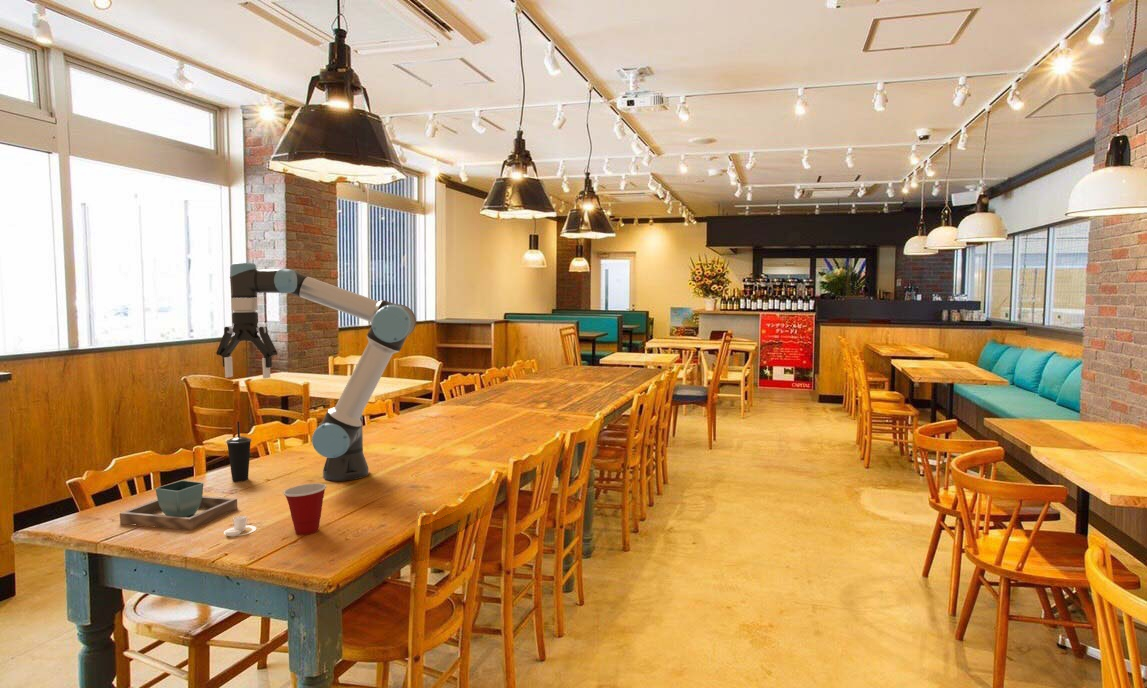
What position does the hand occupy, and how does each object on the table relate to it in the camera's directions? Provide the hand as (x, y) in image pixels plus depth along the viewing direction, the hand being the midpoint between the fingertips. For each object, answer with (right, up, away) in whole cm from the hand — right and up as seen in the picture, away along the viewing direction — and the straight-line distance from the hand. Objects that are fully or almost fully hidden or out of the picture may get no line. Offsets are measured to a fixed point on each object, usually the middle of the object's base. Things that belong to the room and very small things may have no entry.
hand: (247, 377), depth 217 cm
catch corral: (-7, -38, -25) cm, 46 cm away
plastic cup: (+33, -40, -36) cm, 63 cm away
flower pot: (-7, -39, -24) cm, 46 cm away
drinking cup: (-9, -36, +12) cm, 39 cm away
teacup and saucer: (+13, -40, -37) cm, 56 cm away
